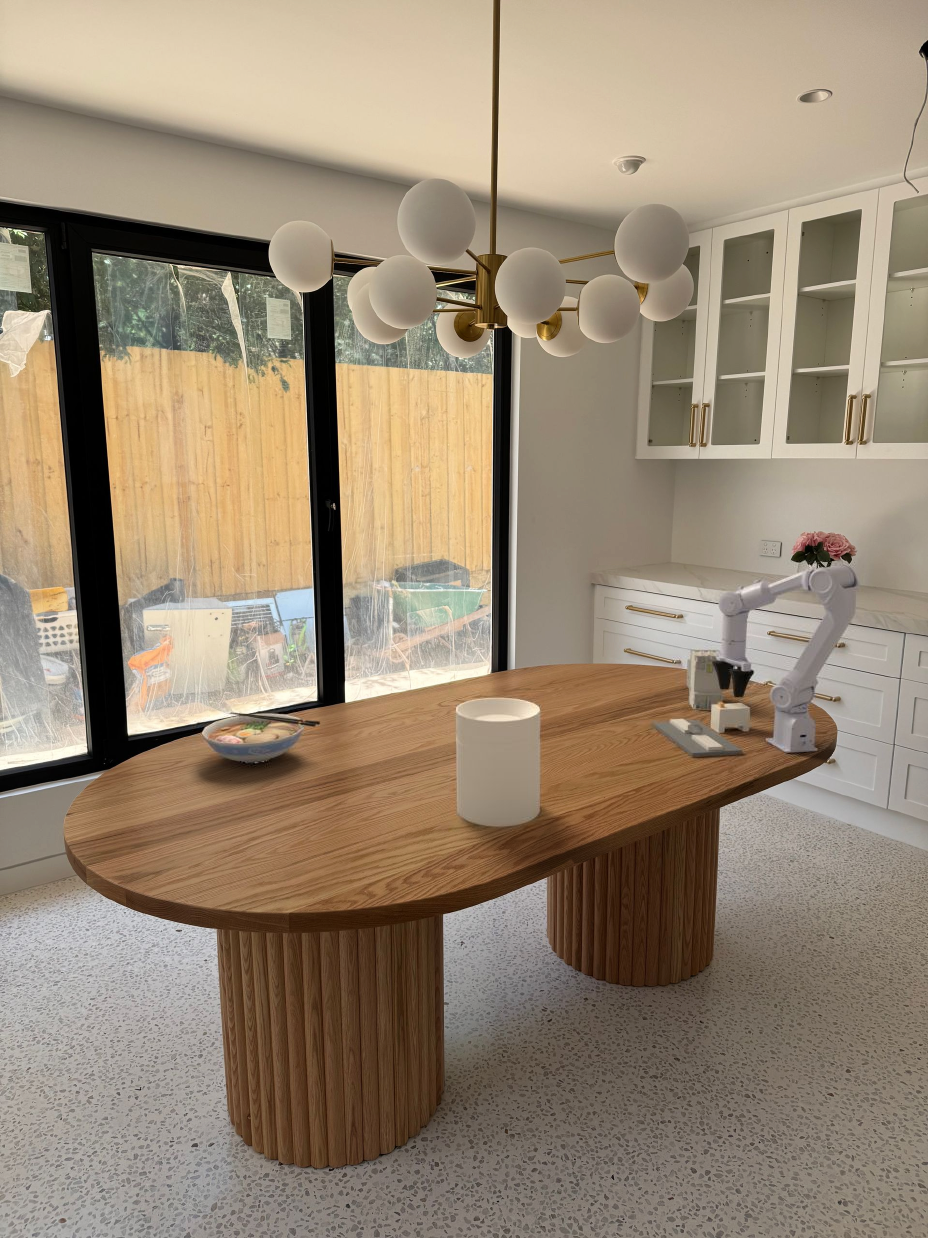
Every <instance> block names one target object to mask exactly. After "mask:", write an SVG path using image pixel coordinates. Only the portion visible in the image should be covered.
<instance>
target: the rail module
mask: <svg viewBox="0 0 928 1238" xmlns="http://www.w3.org/2000/svg"><path fill="white" fill-rule="evenodd" d="M710 711H711V713H710V729H712V730H713V731H715V732H716V733H718V734H723V733H725V729H726V728H725V727H735V728H737V729H738V730H739V731H741V732H749V731H750V721H751V719H750V717H751V716H750V715H751V708H750V706H747V705H746V704H744V703H742V702H736V703H735V702H734V703H724V702H723V701H722V702H718V704H714V705H712V709H711V710H710Z"/></svg>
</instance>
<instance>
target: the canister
mask: <svg viewBox="0 0 928 1238" xmlns="http://www.w3.org/2000/svg"><path fill="white" fill-rule="evenodd" d="M455 708H456V709H455V733H456V736H455V738H456V739H455V741H456V743H455V745H456V747H455V748H456V759H455V760H456V813H457V814H458V815H459V817H460V818H462V819H464V820H465V821H467V822H469V823H471V824H474V825H475V824H476V825H479V826H485V827H486V826H487V827H491V828H492V827H493V828H494V827H495V828H496V827H497V828H498V827H500V828H501V827H502V828H503V827H512V826H520V825H523V824H525V823H528V822H531V821H533V820H534V819H535V818H537V817H538V815H539V813H540V811H541V810H540V809H541V806H540V805H541V804H540V803H541V801H540V800H541V799H540V798H541V793H540V792H541V790H540V789H541V737H540V736H541V734H540V733H541V709H540V706H539V705H537V704H536V703H534V702H532V701H531V702H530V701H528V700H522V699H518V698H509V697H488V698H487V697H486V698H478V699H472V700H467V701H465V702H463V703H460V704H458V705H457V706H456V707H455Z"/></svg>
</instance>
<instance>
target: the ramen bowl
mask: <svg viewBox="0 0 928 1238" xmlns="http://www.w3.org/2000/svg"><path fill="white" fill-rule="evenodd" d="M229 714H231V715H236V716H232V717H228V718H224V719H221V720H217V721H214V722H213V723H211V724H208V725H207V726H205V727H204V728H203V730H202V732H201V735H202V736H203V738H204V740H205V741H206V742H207V744H208V745H209V747H211V748H212V749H213V751H214V752H215V753H217V754H218V755H219V756H221V757H223V758H225V759H229V760H231V761H235V762H240V761H241V762H240V763H243V762H247V763H246V764H248V763H255V762H262V761H266V760H268V761H270V760H272V759H274V758H276V757H279V756H282V755H283V754H284V753H286V752H287V751H289V749H291V748H293V747H294V746H295V745H296V743H297V742H298V740H299V739H300V737H301V735H302V733H303V730H304V729H305V726H307V727H312V728H313V727H316V726H317V725H318V726H319V725H321V721H319V720H310V719H301V718H300V717H296V716H293V715H290V714H283V713H281V714H279V713H255V714H254V713H252V714H251V713H242V712H241V713H240V712H233V711H232V712H229ZM271 758H272V759H271ZM269 759H270V760H269ZM266 762H267V761H266ZM255 764H256V763H255Z"/></svg>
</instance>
